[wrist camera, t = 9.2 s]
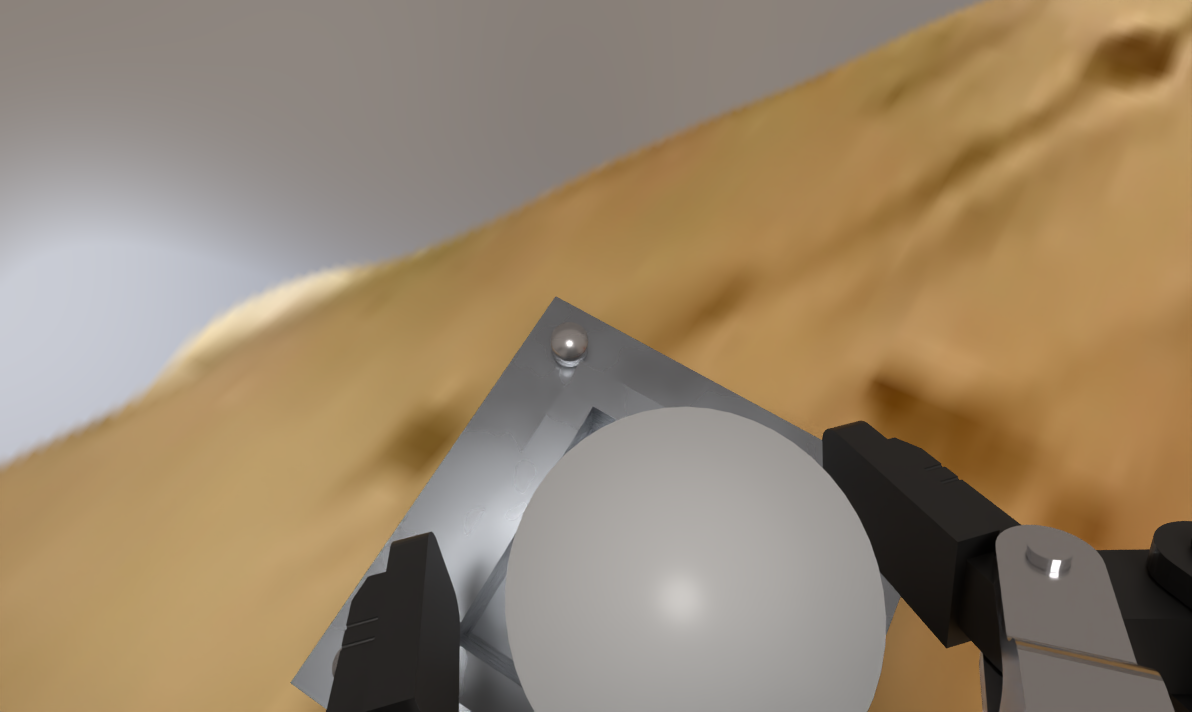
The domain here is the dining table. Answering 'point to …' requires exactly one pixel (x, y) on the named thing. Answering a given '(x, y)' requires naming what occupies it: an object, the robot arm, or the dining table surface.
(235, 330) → the dining table surface
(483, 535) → the flange fitting
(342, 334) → the dining table surface
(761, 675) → the white capped cylinder
